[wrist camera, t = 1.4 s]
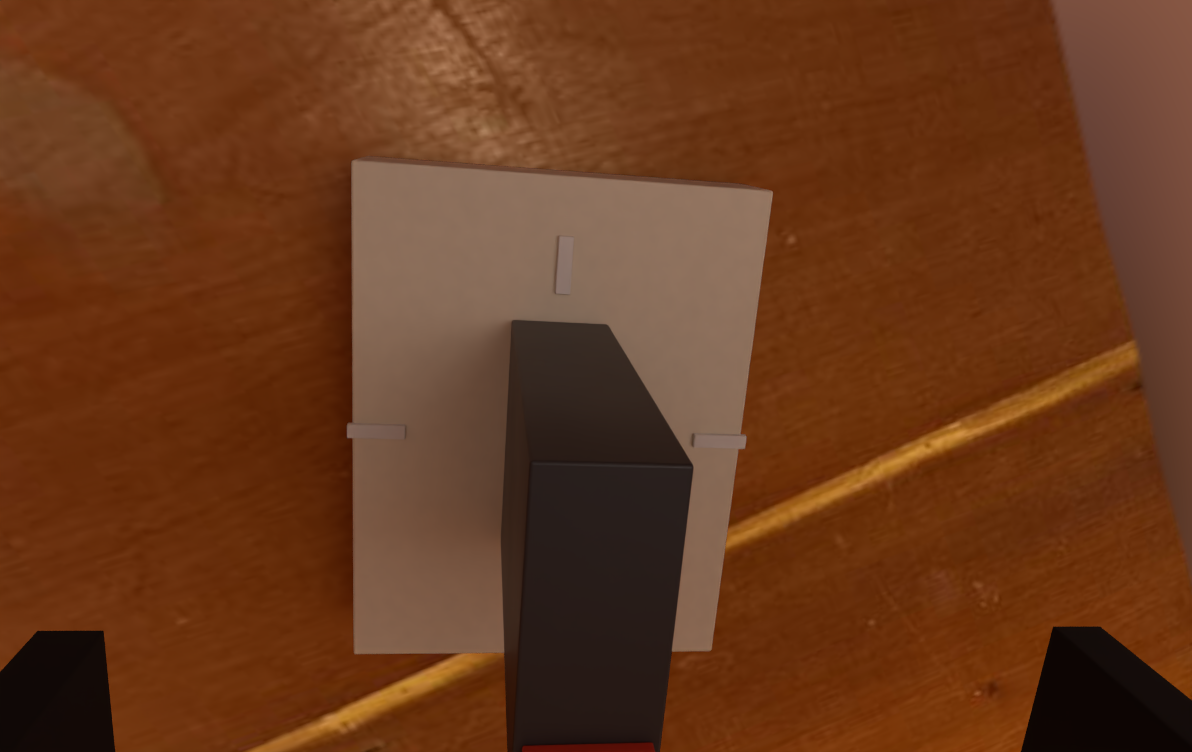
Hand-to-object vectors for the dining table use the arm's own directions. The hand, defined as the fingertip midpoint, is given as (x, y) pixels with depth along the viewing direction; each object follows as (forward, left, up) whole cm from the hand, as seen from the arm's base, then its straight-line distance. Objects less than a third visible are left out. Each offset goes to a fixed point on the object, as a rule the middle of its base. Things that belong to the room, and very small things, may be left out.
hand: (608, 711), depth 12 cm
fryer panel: (0, 0, -13) cm, 13 cm away
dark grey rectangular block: (0, 0, -10) cm, 10 cm away
